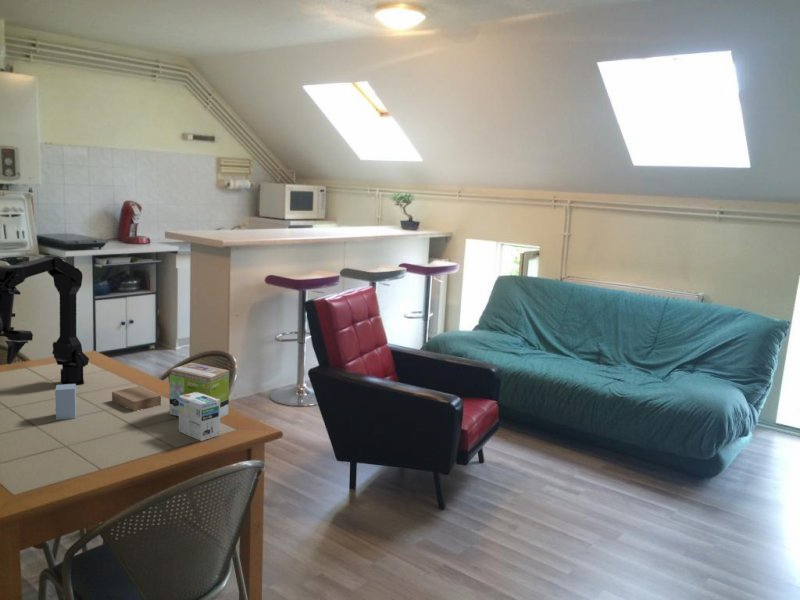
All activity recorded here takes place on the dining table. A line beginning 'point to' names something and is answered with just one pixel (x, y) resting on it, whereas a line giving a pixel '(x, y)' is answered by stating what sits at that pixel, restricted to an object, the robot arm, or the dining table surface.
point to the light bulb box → (199, 416)
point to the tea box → (199, 385)
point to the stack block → (136, 398)
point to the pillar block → (65, 401)
